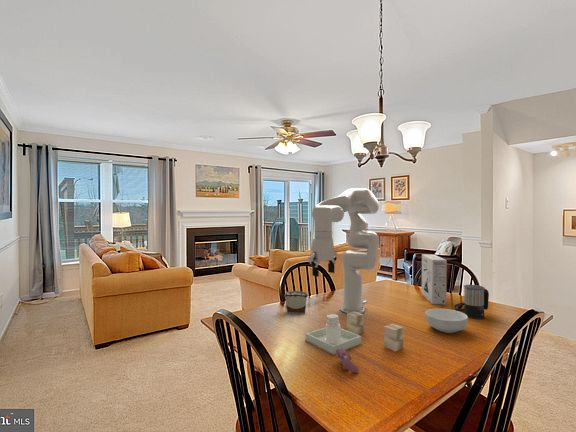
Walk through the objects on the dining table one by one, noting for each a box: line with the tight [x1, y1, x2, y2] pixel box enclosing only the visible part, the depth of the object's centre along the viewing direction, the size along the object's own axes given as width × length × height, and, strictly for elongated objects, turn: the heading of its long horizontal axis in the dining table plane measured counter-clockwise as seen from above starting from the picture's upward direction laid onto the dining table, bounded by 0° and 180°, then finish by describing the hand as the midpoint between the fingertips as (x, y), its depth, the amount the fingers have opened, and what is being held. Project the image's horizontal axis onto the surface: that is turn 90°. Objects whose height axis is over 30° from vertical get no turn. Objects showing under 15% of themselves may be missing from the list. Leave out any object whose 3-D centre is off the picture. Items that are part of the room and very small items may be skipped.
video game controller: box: [335, 348, 360, 374], centre depth 107 cm, size 10×5×7 cm, turn 6°
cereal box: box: [421, 253, 448, 306], centre depth 188 cm, size 22×8×25 cm, turn 172°
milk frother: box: [454, 284, 490, 320], centre depth 162 cm, size 14×16×15 cm
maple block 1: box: [346, 311, 364, 336], centre depth 138 cm, size 5×5×8 cm
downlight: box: [323, 313, 343, 344], centre depth 127 cm, size 8×7×10 cm
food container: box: [283, 290, 309, 315], centre depth 166 cm, size 12×6×10 cm, turn 84°
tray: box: [304, 327, 362, 356], centre depth 127 cm, size 16×16×3 cm
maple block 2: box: [383, 323, 404, 352], centre depth 123 cm, size 5×5×8 cm
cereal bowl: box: [425, 308, 469, 334], centre depth 141 cm, size 17×17×7 cm
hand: (323, 274), depth 139 cm, fingers open, 9 cm apart
